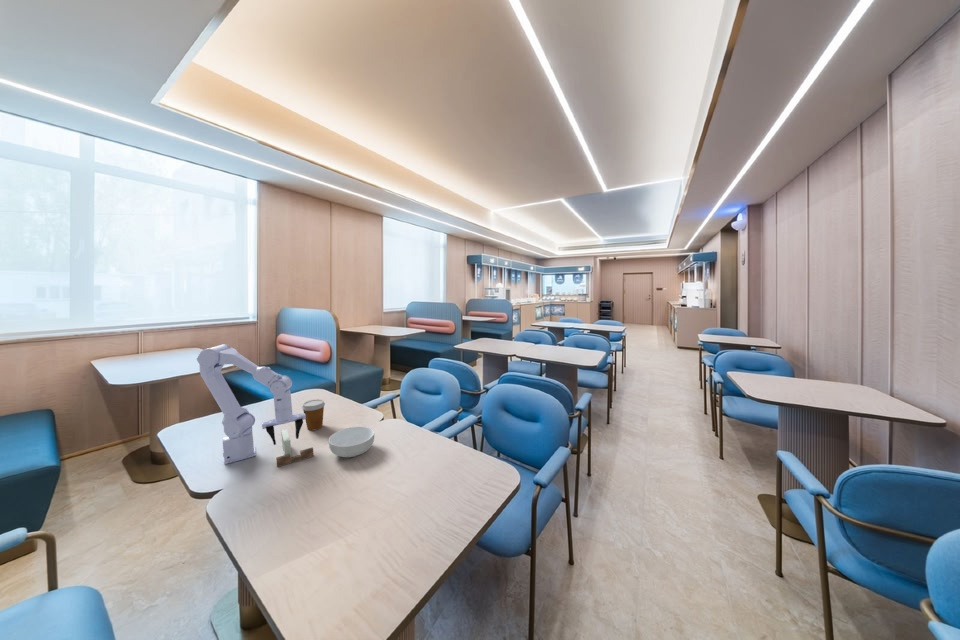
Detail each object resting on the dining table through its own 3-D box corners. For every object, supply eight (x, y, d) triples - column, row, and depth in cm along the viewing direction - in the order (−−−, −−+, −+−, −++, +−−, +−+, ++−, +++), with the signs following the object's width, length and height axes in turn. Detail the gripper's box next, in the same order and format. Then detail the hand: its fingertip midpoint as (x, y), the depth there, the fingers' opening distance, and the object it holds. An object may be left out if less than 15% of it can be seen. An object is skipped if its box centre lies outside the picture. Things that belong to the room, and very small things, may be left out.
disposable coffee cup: (319, 432, 142) (318, 406, 141) (298, 432, 142) (297, 406, 141) (330, 422, 152) (328, 399, 150) (310, 422, 152) (308, 399, 151)
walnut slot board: (277, 467, 115) (276, 459, 115) (276, 465, 116) (276, 457, 116) (313, 456, 122) (313, 448, 122) (313, 454, 123) (312, 447, 123)
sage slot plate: (291, 457, 121) (290, 440, 120) (285, 459, 120) (284, 441, 119) (288, 445, 131) (286, 429, 130) (282, 446, 130) (281, 430, 129)
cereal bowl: (359, 466, 115) (358, 448, 114) (319, 461, 118) (318, 443, 117) (382, 443, 131) (382, 427, 131) (347, 440, 135) (346, 424, 134)
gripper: (261, 415, 116) (264, 450, 117) (305, 406, 125) (308, 439, 126) (260, 410, 121) (263, 443, 123) (303, 401, 130) (305, 432, 132)
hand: (286, 440), depth 125 cm, fingers open, 7 cm apart
